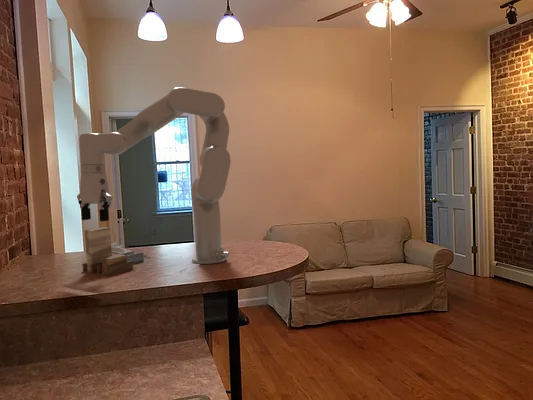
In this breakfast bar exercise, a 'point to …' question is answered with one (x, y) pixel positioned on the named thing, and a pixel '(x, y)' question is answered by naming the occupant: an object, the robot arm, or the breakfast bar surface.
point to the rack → (109, 268)
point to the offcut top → (114, 260)
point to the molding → (122, 250)
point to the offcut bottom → (104, 270)
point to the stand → (134, 257)
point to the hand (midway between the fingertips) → (95, 220)
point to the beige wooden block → (97, 245)
